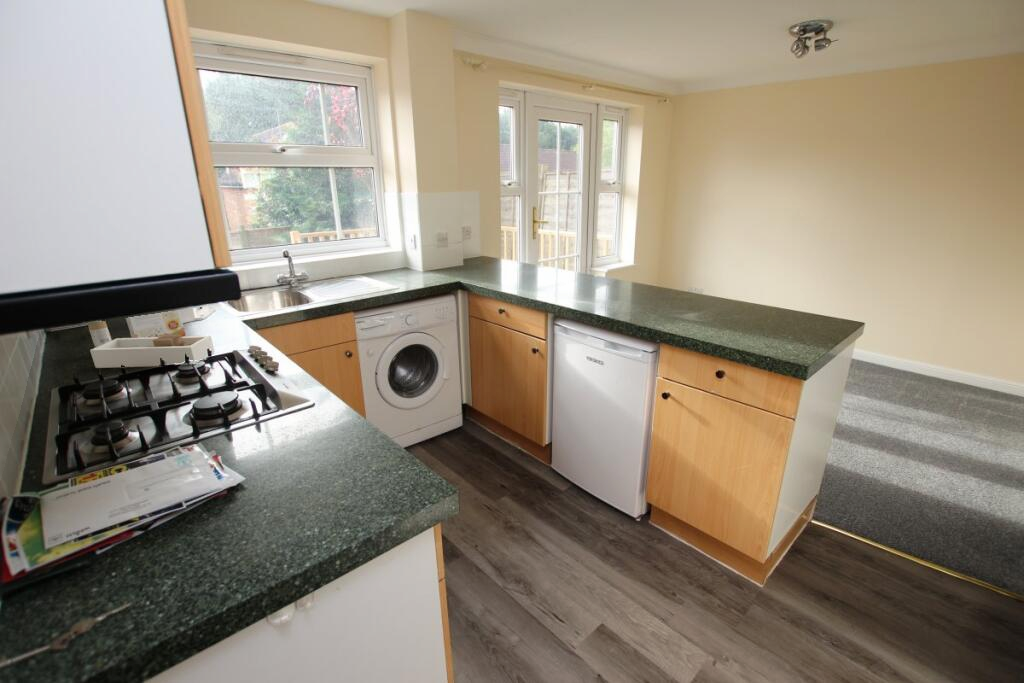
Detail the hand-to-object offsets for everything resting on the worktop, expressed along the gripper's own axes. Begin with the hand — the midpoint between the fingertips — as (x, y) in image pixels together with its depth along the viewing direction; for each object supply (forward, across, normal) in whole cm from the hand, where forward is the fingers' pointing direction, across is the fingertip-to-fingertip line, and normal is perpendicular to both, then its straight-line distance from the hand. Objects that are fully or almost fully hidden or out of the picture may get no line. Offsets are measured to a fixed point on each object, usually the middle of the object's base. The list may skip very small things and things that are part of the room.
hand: (127, 291), depth 134 cm
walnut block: (+18, +8, 0) cm, 20 cm away
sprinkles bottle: (+21, -17, +7) cm, 28 cm away
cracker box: (+21, -9, +20) cm, 31 cm away
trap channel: (+21, +3, 0) cm, 21 cm away
